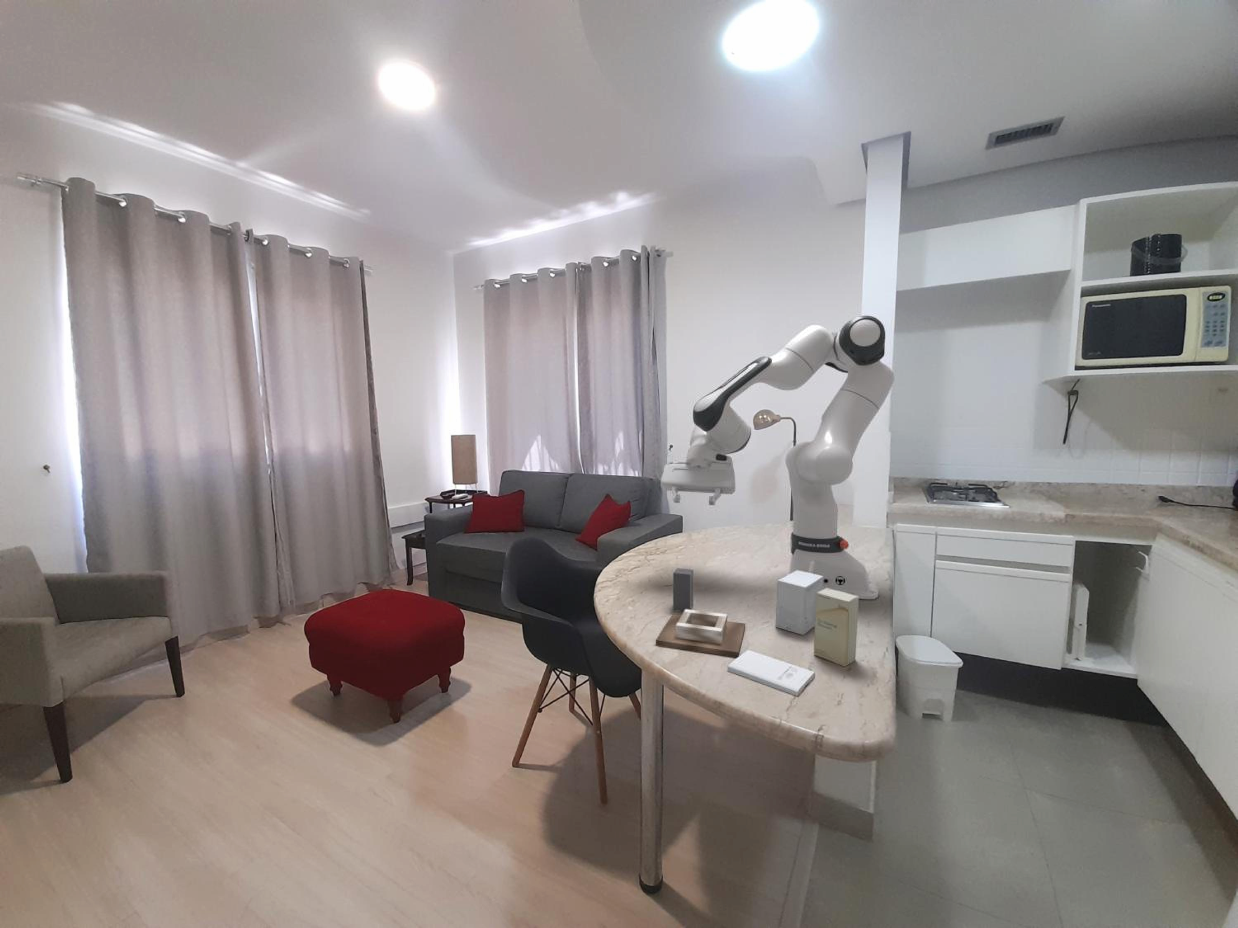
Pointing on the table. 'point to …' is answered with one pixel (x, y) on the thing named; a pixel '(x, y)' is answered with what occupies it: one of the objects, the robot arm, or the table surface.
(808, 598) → the skincare box
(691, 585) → the plug
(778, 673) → the external hard drive
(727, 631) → the socket board
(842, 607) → the skincare box
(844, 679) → the table surface
